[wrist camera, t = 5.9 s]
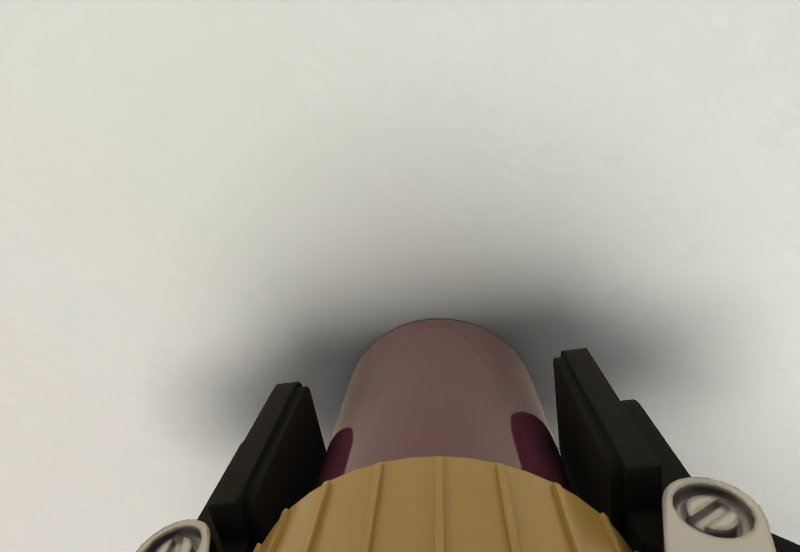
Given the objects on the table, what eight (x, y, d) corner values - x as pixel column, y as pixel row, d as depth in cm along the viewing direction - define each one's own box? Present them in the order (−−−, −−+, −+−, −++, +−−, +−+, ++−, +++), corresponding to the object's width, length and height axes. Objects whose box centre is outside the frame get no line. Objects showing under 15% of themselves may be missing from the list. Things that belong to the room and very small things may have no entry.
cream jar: (500, 498, 15) (569, 895, 7) (331, 454, 15) (221, 805, 7) (561, 346, 13) (735, 651, 6) (371, 296, 13) (283, 533, 5)
